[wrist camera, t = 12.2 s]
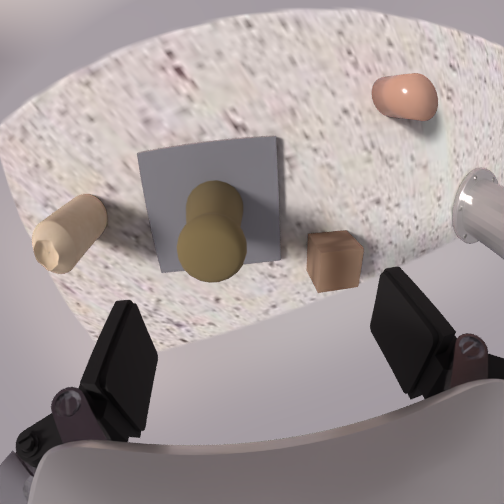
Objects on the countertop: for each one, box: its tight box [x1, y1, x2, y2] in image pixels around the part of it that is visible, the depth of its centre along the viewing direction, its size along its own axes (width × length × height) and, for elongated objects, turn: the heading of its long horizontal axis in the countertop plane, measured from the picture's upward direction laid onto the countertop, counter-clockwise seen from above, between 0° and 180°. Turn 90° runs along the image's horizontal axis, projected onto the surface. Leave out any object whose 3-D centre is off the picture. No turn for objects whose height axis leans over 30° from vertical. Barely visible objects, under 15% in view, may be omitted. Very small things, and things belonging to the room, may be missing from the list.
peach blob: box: [372, 73, 438, 121], centre depth 23 cm, size 5×5×6 cm
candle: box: [32, 194, 107, 274], centre depth 24 cm, size 6×6×10 cm
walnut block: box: [307, 230, 364, 293], centre depth 31 cm, size 5×5×5 cm
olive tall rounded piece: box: [177, 180, 247, 283], centre depth 24 cm, size 6×6×11 cm
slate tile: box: [137, 136, 281, 273], centre depth 29 cm, size 14×14×1 cm
